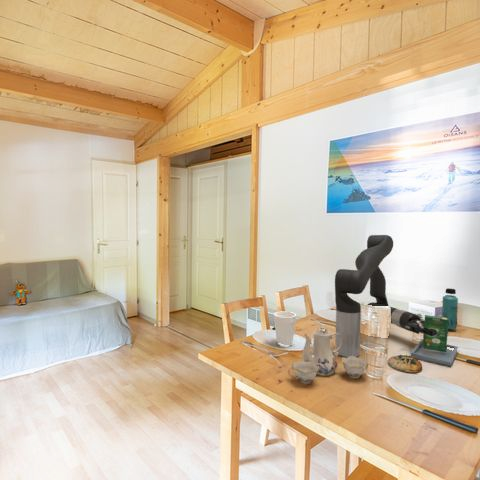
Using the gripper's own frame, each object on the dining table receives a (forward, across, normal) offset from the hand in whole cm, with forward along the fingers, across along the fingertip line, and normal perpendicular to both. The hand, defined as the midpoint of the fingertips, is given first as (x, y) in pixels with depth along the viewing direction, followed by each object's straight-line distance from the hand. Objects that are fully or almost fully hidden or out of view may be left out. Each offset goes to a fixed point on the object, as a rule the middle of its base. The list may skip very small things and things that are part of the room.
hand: (440, 332), depth 126 cm
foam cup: (-32, -50, +10) cm, 60 cm away
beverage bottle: (-21, +33, +10) cm, 40 cm away
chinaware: (-3, -50, +10) cm, 51 cm away
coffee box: (-2, 0, +8) cm, 8 cm away
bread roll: (+2, -20, +10) cm, 22 cm away
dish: (-2, 0, +10) cm, 10 cm away
